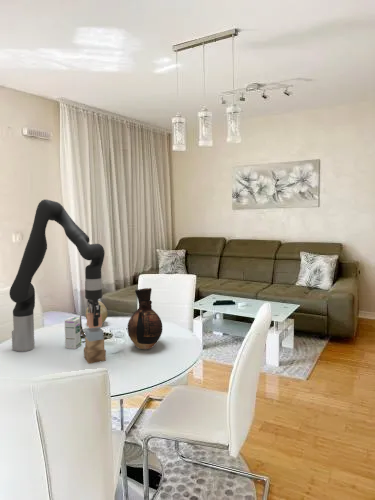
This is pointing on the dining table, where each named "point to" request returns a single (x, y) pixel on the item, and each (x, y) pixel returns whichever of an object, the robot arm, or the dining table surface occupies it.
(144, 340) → the ceramic vessel
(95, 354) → the tower base
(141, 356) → the dining table surface
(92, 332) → the tower top
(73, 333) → the syrup box
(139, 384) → the dining table surface
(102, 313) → the fossilized egg
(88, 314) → the cube
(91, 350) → the tower mid
